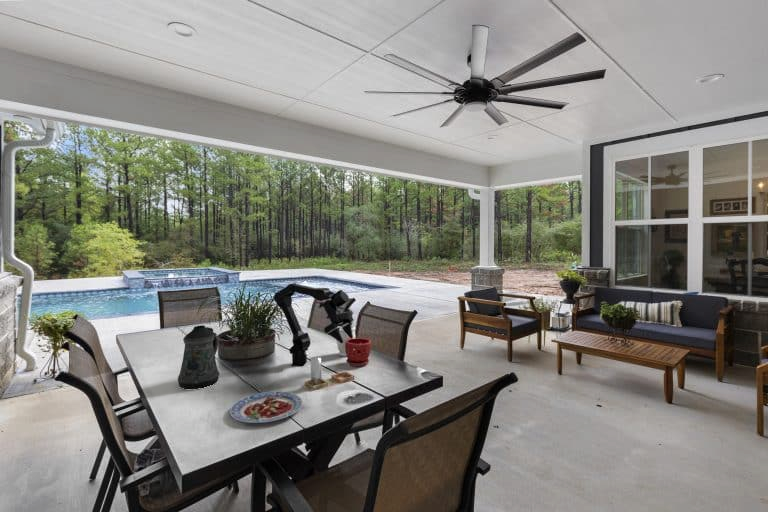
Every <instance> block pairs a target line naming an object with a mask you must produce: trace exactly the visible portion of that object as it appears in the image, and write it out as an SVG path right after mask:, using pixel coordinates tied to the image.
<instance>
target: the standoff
mask: <svg viewBox="0 0 768 512" xmlns="http://www.w3.org/2000/svg"><path fill="white" fill-rule="evenodd" d="M321 378H322V357H321V356H312V357H311V358H310V380H311V385H312V386H315V385H319V384H321Z"/></svg>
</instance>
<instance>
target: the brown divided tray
mask: <svg viewBox="0 0 768 512" xmlns="http://www.w3.org/2000/svg"><path fill="white" fill-rule="evenodd" d="M330 376H331V378H327V379H324V378H322V377H321V384H319V385H315V386H312V385H311V379H309V380H305V381H304V382H303V383H304V384H303V385H302V386H303V387H304V388H305V389H307V390H308V391H309V392H315V391H319V390H323V389H325V388H331V387H335V386H337V385H342V384H345V383H349V382H354V381H357V379H356V378H355V376H354V375H353V374H352V373H350V372H348V371H343V372H338V373H334V374H333V373H332V374H331V375H330Z"/></svg>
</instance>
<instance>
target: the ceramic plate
mask: <svg viewBox="0 0 768 512" xmlns="http://www.w3.org/2000/svg"><path fill="white" fill-rule="evenodd" d="M260 401H263V402H261V403H257V402H260ZM303 401H304V400H303V399H302V398H301V397H300V396H299V395H297V394H296V393H291V392H289V391H288V392H287V391H276V390H275V391H266V392H265V391H263V392H260V393H259V392H258V393H256V394H251V395H249V396H246V397H243V398H242V399H239V400H238V401H236V402H235V403H233V405H232V406H231V407H230V409H229V414H230V416H231V417H232V418H234V420H237V421H239V422H242V423H249V424H250V423H251V424H259V423H262V424H263V423H269V422H270V423H272V422H275V421H278V420H279V421H280V420H283V419H285V418H287V417H290V416H292V415H294V414H295V413H297V412H299V410H300V409H301V408H302V407H303V403H304V402H303ZM254 403H255V404H254Z"/></svg>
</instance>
